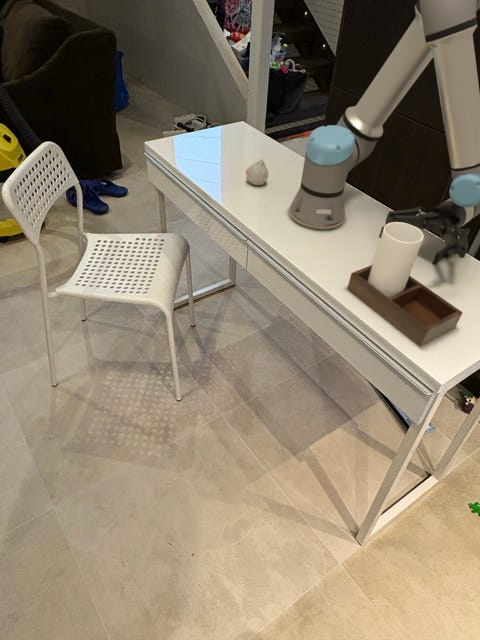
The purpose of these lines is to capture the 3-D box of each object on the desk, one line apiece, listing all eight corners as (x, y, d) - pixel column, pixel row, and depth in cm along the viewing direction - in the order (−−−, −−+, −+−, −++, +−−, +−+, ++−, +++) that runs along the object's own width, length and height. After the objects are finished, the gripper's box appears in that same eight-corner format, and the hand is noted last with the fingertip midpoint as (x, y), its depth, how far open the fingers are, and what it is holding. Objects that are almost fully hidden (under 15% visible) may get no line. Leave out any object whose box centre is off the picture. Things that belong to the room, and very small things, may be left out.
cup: (395, 308, 108) (418, 247, 97) (360, 295, 111) (378, 234, 100) (405, 289, 113) (428, 230, 103) (371, 277, 116) (390, 217, 106)
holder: (381, 274, 119) (386, 259, 116) (455, 328, 106) (462, 312, 103) (346, 289, 113) (351, 273, 110) (420, 347, 100) (427, 330, 97)
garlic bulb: (246, 177, 153) (248, 152, 147) (268, 180, 152) (271, 155, 147) (243, 186, 148) (245, 161, 142) (265, 190, 147) (268, 164, 142)
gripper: (493, 250, 117) (453, 285, 105) (402, 209, 129) (357, 236, 117) (507, 222, 112) (466, 256, 100) (411, 182, 124) (365, 208, 112)
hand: (407, 245), depth 109 cm, fingers open, 13 cm apart
